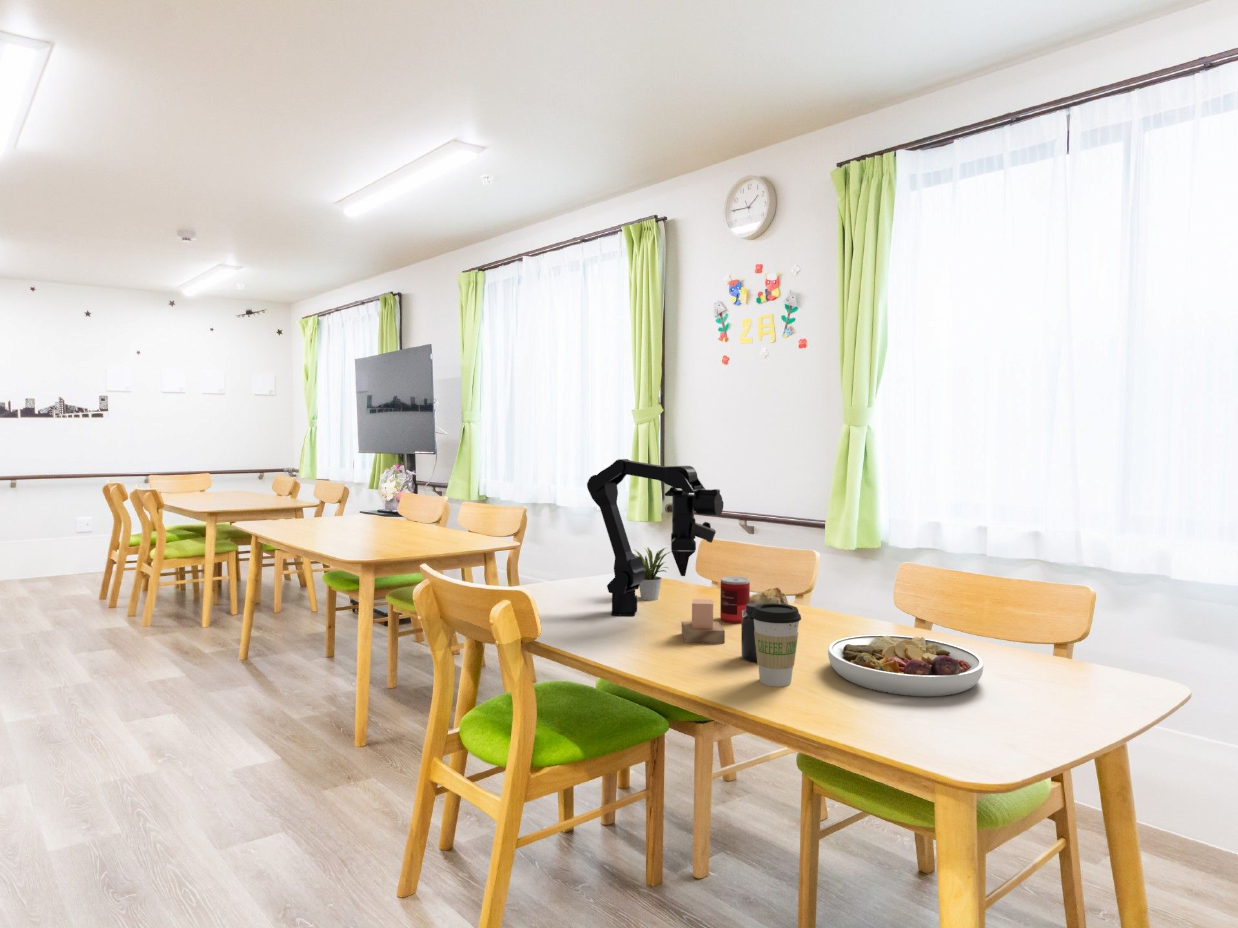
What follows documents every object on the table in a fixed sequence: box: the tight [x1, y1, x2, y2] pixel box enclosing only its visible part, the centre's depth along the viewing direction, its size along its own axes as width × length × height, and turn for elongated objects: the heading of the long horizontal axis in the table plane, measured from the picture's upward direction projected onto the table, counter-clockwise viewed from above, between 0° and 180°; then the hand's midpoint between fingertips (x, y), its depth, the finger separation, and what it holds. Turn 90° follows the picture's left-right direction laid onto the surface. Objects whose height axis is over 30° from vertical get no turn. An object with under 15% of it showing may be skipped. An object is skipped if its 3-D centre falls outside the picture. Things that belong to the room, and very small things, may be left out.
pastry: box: [749, 586, 790, 605], centre depth 214 cm, size 14×12×8 cm
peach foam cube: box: [691, 598, 715, 629], centre depth 191 cm, size 5×5×6 cm
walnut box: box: [681, 620, 726, 645], centre depth 191 cm, size 9×9×4 cm
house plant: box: [633, 547, 671, 601], centre depth 235 cm, size 14×14×16 cm
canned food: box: [719, 576, 751, 624], centre depth 209 cm, size 8×8×11 cm
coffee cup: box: [751, 603, 802, 688], centre depth 158 cm, size 10×10×15 cm
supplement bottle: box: [740, 603, 763, 663], centre depth 174 cm, size 7×7×12 cm
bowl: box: [827, 634, 984, 697], centre depth 162 cm, size 30×30×8 cm
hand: (682, 572), depth 207 cm, fingers open, 9 cm apart
